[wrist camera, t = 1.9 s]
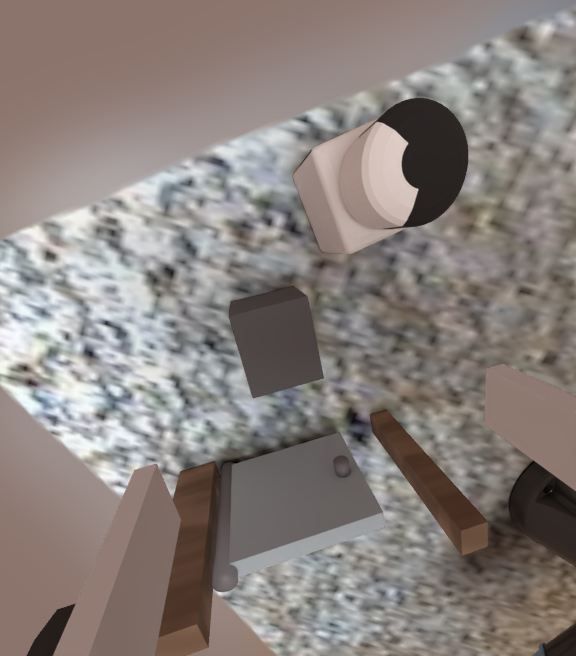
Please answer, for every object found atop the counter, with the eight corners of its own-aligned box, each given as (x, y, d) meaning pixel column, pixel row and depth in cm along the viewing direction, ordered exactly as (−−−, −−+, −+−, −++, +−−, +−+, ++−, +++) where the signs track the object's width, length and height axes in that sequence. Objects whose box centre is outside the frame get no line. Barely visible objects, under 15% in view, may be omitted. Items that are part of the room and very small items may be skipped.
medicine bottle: (365, 140, 25) (473, 50, 13) (389, 221, 27) (499, 203, 16) (290, 174, 25) (335, 112, 13) (321, 253, 27) (382, 259, 15)
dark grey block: (307, 352, 29) (323, 378, 24) (249, 368, 29) (252, 398, 23) (292, 285, 27) (307, 296, 22) (230, 301, 27) (228, 316, 21)
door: (340, 442, 32) (389, 535, 22) (223, 478, 31) (216, 595, 21) (336, 420, 32) (385, 507, 21) (215, 456, 30) (204, 567, 20)
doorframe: (388, 427, 33) (488, 546, 20) (187, 488, 31) (149, 668, 18) (386, 409, 33) (487, 521, 19) (180, 471, 30) (135, 645, 17)
